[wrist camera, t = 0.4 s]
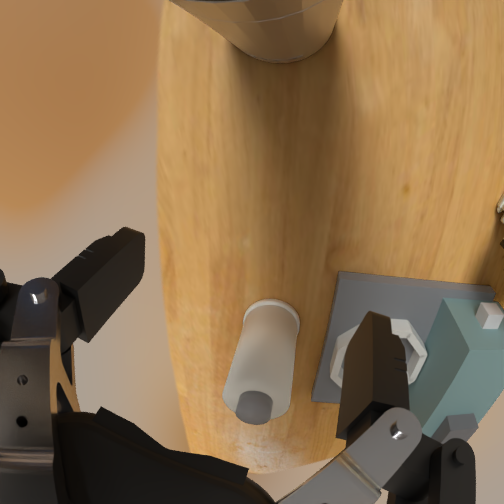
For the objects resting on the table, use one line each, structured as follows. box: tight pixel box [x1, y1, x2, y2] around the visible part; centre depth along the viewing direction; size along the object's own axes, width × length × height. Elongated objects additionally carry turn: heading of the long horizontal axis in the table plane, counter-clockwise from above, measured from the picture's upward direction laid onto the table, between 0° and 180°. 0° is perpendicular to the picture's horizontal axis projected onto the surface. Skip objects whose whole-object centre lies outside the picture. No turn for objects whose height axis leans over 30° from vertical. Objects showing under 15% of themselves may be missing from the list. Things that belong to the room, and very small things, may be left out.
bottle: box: [222, 299, 300, 425], centre depth 29 cm, size 6×6×12 cm
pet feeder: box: [311, 271, 504, 444], centre depth 28 cm, size 19×19×12 cm
